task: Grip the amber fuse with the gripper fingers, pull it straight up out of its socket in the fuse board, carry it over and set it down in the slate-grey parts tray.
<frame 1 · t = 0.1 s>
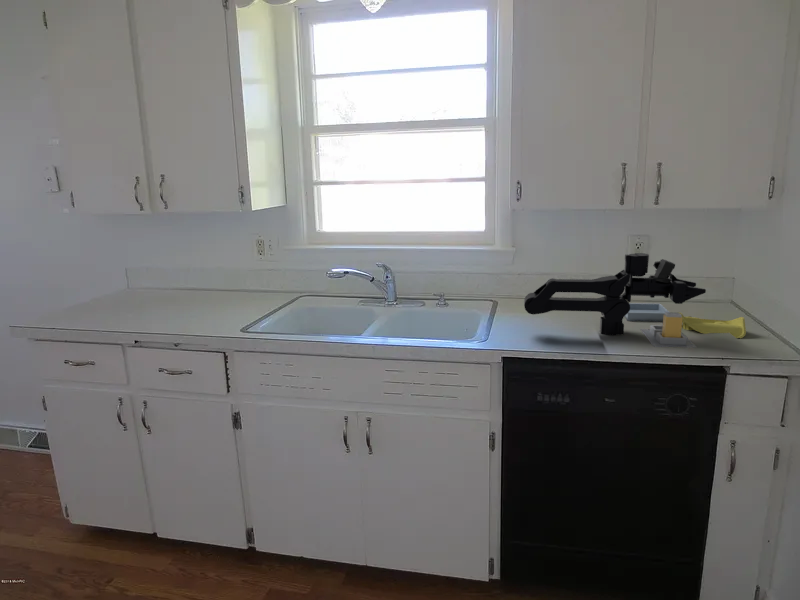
hand: (700, 287, 172), 17 cm above the worktop, tool horizontal, fingers open, 9 cm apart
fuse board: (666, 342, 174), on the worktop
blown fuse: (670, 341, 170), point 1 cm above the worktop, touching fuse board
plastic component: (706, 333, 183), on the worktop
parts tray: (644, 316, 204), on the worktop
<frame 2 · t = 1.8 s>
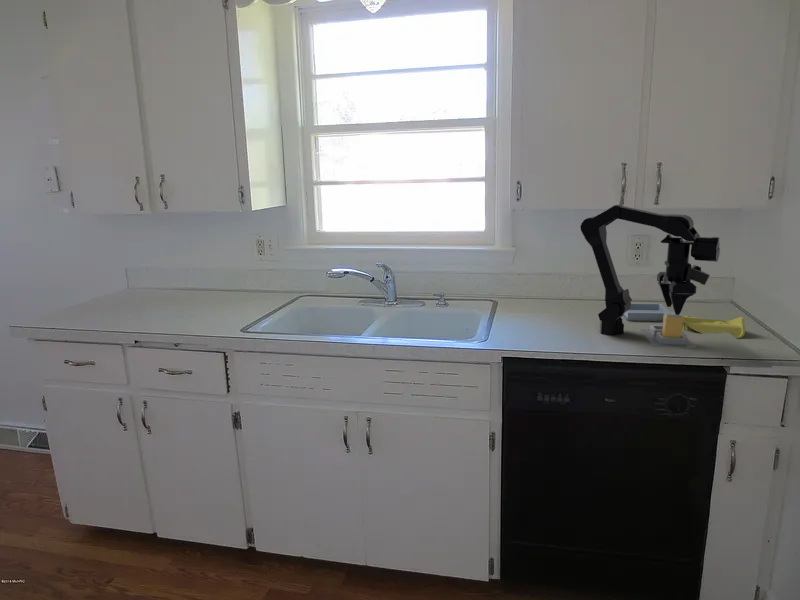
hand: (673, 310, 168), 11 cm above the worktop, tool pointing down, fingers open, 9 cm apart
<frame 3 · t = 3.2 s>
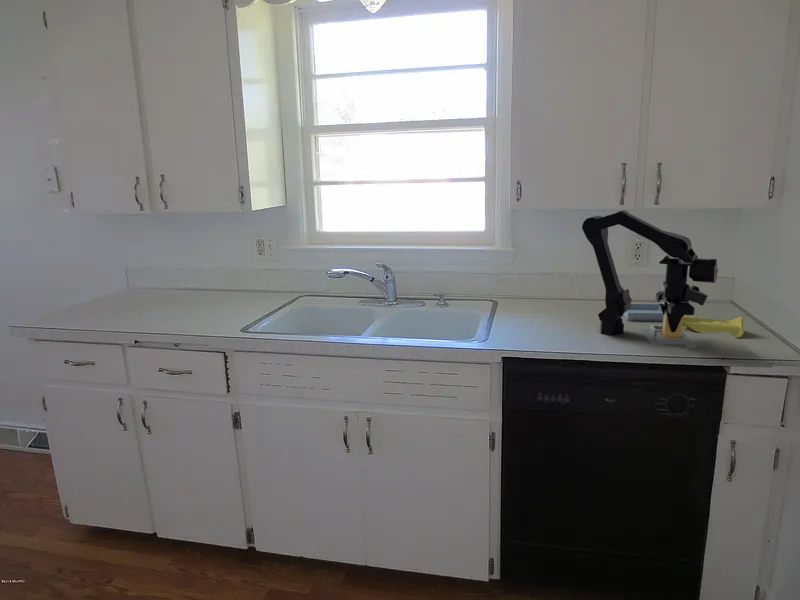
hand: (671, 330, 169), 5 cm above the worktop, tool pointing down, fingers closed on blown fuse, 3 cm apart
blown fuse: (670, 341, 170), point 2 cm above the worktop, touching fuse board, gripper
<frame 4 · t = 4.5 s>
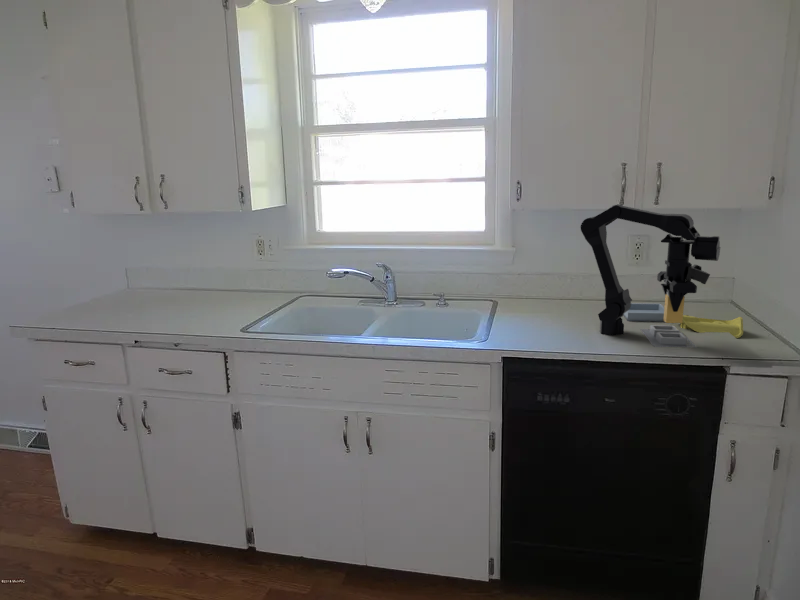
hand: (673, 310, 168), 11 cm above the worktop, tool pointing down, fingers closed on blown fuse, 3 cm apart
blown fuse: (672, 321, 168), point 8 cm above the worktop, touching gripper
everything else where it was.
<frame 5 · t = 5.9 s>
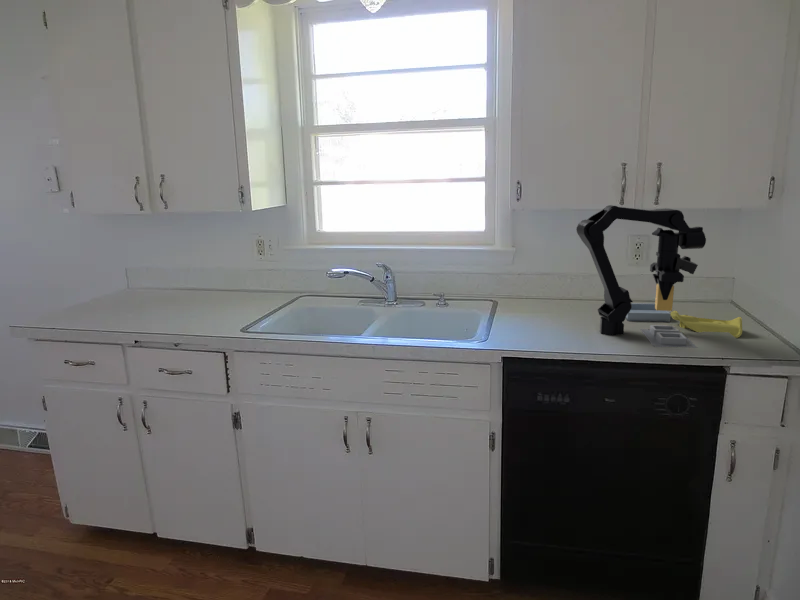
hand: (663, 298, 179), 12 cm above the worktop, tool pointing down, fingers closed on blown fuse, 3 cm apart
blown fuse: (663, 309, 180), point 9 cm above the worktop, touching gripper
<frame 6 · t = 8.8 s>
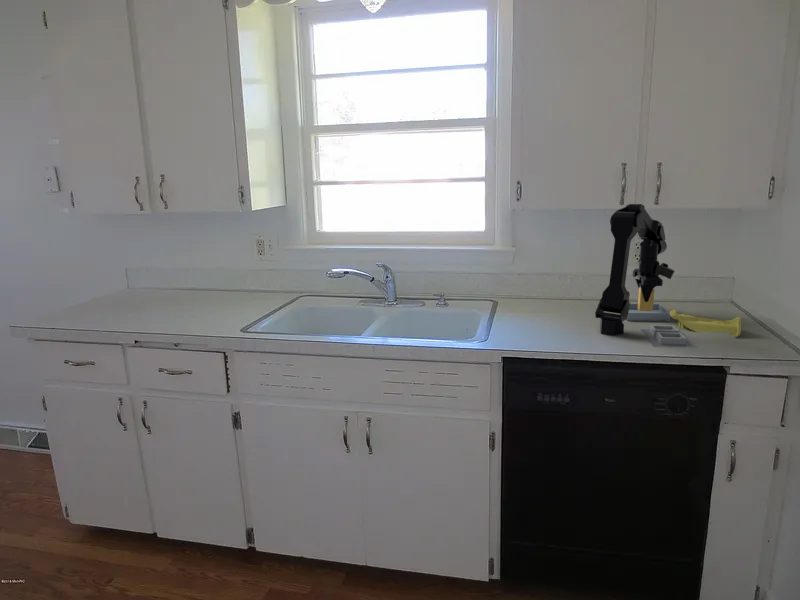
hand: (645, 300, 202), 6 cm above the worktop, tool pointing down, fingers closed on blown fuse, 3 cm apart
blown fuse: (645, 310, 203), point 2 cm above the worktop, touching gripper
when the fingers open (6 cm above the worktop, at t = 9.1 s): blown fuse drops 2 cm, resting on parts tray.
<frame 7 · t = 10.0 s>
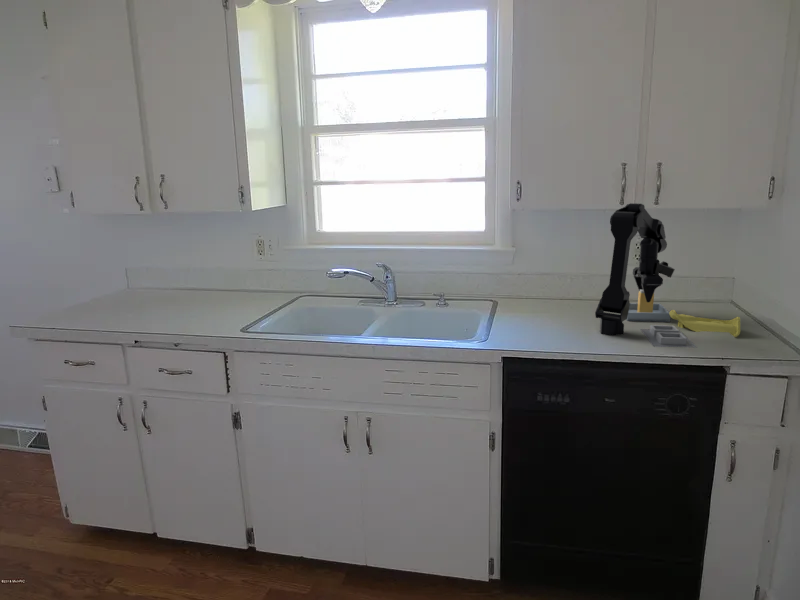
hand: (645, 299, 202), 6 cm above the worktop, tool pointing down, fingers open, 9 cm apart
blown fuse: (644, 314, 203), point 1 cm above the worktop, touching parts tray
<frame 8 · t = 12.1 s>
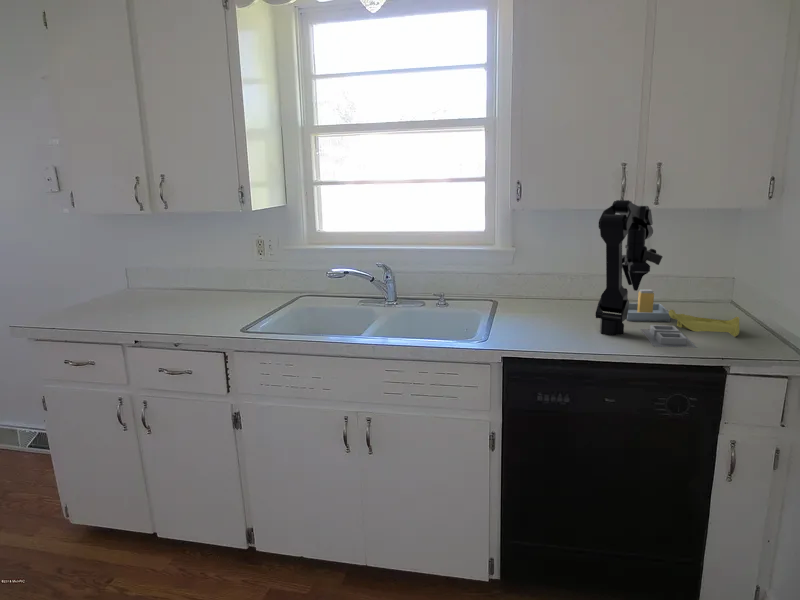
hand: (632, 287, 195), 12 cm above the worktop, tool pointing down, fingers open, 9 cm apart
at the end: blown fuse inside the target area on the parts tray (0.1 cm from its centre), point 0.8 cm above the parts tray's base; the gripper is holding nothing; blown fuse moved 34.9 cm from its start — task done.
